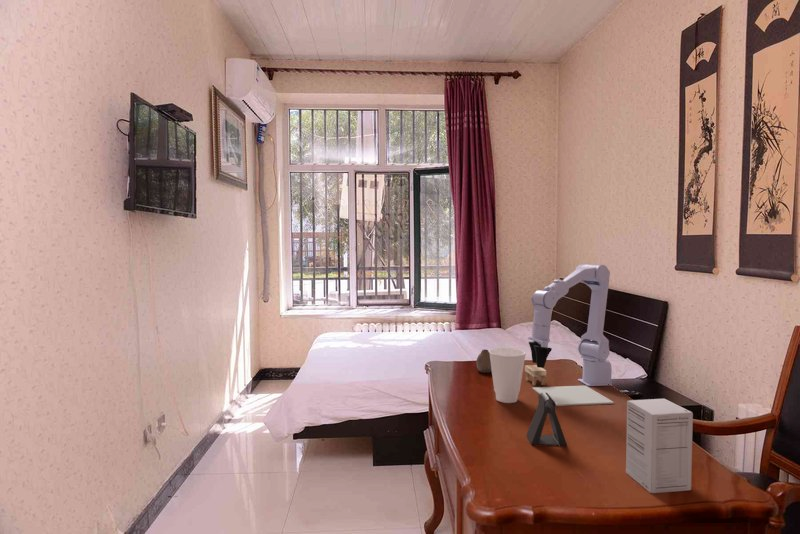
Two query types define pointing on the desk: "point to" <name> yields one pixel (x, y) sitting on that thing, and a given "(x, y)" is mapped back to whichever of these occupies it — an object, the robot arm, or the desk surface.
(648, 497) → the desk surface
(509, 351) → the cup
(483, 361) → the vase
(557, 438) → the phone stand
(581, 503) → the desk surface
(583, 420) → the desk surface
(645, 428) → the supplement box
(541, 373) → the tan plank with pegs
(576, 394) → the mat
